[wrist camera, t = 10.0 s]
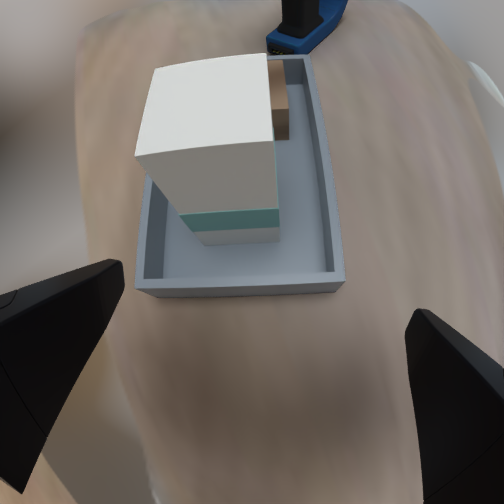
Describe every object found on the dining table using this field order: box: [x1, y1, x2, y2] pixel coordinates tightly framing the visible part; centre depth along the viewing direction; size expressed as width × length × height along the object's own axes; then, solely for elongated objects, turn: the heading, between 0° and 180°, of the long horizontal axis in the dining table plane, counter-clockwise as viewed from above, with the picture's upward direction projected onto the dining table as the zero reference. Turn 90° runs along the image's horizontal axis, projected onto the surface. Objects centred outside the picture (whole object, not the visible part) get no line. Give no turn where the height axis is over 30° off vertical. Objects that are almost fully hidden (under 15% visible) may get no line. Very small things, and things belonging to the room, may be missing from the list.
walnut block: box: [267, 60, 289, 141], centre depth 24 cm, size 6×8×4 cm
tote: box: [135, 55, 345, 298], centre depth 23 cm, size 20×13×4 cm, turn 1°
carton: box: [135, 53, 280, 246], centre depth 18 cm, size 6×6×12 cm
